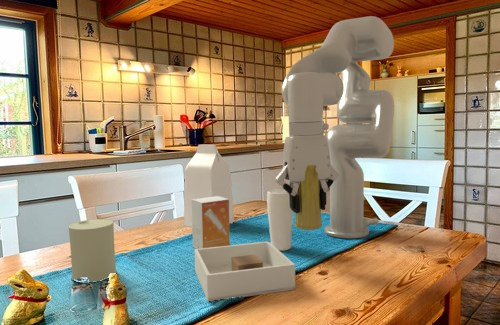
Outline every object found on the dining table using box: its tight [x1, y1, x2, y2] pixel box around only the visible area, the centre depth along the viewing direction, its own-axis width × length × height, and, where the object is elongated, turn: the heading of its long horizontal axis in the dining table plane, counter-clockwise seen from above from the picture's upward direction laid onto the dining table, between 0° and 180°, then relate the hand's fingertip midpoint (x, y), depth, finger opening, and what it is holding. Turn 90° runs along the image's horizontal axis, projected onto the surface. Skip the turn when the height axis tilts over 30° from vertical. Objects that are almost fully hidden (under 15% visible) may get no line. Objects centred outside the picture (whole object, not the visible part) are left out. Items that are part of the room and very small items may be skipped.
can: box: [68, 218, 117, 282], centre depth 87 cm, size 9×9×12 cm
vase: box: [294, 165, 323, 231], centre depth 90 cm, size 6×6×14 cm
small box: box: [191, 196, 231, 249], centre depth 105 cm, size 8×6×13 cm
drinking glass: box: [266, 188, 294, 252], centre depth 103 cm, size 7×7×15 cm
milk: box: [183, 144, 235, 228], centre depth 129 cm, size 12×12×26 cm
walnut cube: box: [231, 255, 263, 271], centre depth 79 cm, size 5×5×5 cm
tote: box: [194, 241, 296, 303], centre depth 83 cm, size 17×16×5 cm
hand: (308, 209), depth 90 cm, fingers closed on vase, 5 cm apart
